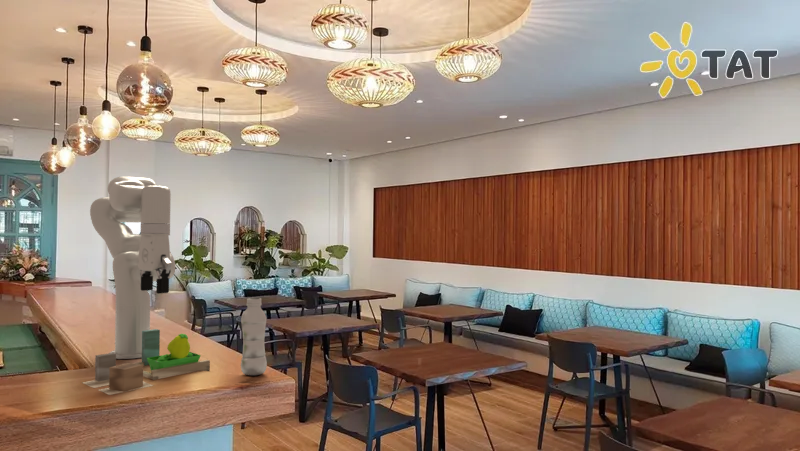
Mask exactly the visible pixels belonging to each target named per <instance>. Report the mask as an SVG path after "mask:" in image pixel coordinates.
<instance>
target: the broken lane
mask: <svg viewBox="0 0 800 451" xmlns="http://www.w3.org/2000/svg"><path fill="white" fill-rule="evenodd" d="M94 357H95V358H94V360H95V362H94V363H95V364H94V366H95V369H94V371H95V372H94V379H93V380H89V381H85V382H84V381H83V382H82V384H83V385H86V386H88V387H90V388H93V389H95V388H97V389H98V388H101V387H105V388H101V389H98V391H99V392H101V393H103V394H106V395H108V396H111V395H115V394H116V395H117V394H120V393H125V392H127V391H125V392H123V391H117V390H112V389H109V387H107V386H109V367H113V366H117V359H116V354H115V353H110V352H109V353H103V354H96V355H95V356H94ZM153 386H154V384H150V383H148V382H145V381H143V386H142V387H139V388H135V389H132V390H129V391H134V390H139V389H144V388H149V387H153ZM129 391H128V392H129Z"/></svg>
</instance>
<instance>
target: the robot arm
mask: <svg viewBox="0 0 800 451" xmlns="http://www.w3.org/2000/svg"><path fill="white" fill-rule="evenodd" d="M107 192H108V196H105V197H100V198H96V199H95V200H94V201H92V203H91V205H90V208H89V209H90V210H89V214H90V220H91V224H92V226H93V229H95V232H97V234H98V235H99V236H100V237H101V238H102V239H103V240H104V242H105V244H106V247H107V249H108V250H109V253H110V254H111V257H112V258H113V260H112V272H113V277H114V285H115V287H114V288H115V290H114V291H115V322H114V323H115V324H114V325H115V330H114V336H115V337H114V345H115V346H114V350H112V351H110V352H109V353H115V354H116V360H117V359H118V360H128V359H129V360H131V359H133V360H134V359H140V358H141V359H142V331H145V330H151V296H150V294H149V291H153V289H154V283H153V282H156V289H155V290H156V294H158V295H159V294H168V293H170V292H169V291H170V279H171V278H173V276H174V275H175V273H176V262H175V258H174V256H173V253H171V249H170V248H171V247H170V237H169V236H171V198H172V197H171V196H172V194H171V189H170V188H169V187H168V186H163V185H157V183H156V182H155V181H154V180H153V179H151V178H147V177H137V176H136V177H135V176H117V177H115V178H113V179H111V180H110V182H109V183H108V185H107ZM124 223H140V234H139V233H138V234H137V233H133V231H132V229H131V228H130V227H129V226H127V225H126V224H124Z"/></svg>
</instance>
